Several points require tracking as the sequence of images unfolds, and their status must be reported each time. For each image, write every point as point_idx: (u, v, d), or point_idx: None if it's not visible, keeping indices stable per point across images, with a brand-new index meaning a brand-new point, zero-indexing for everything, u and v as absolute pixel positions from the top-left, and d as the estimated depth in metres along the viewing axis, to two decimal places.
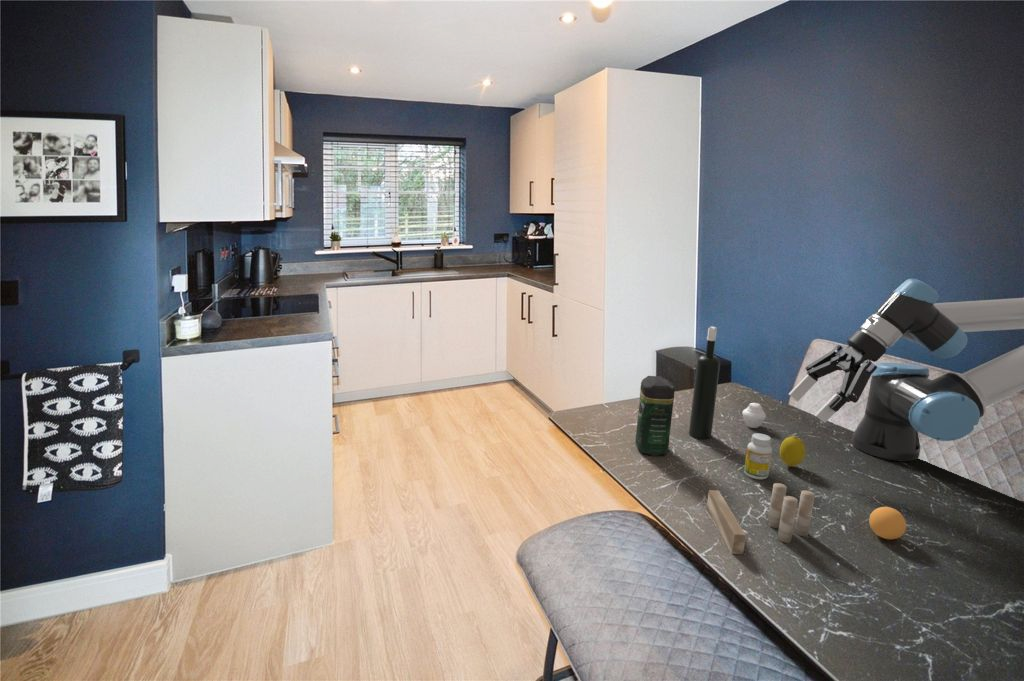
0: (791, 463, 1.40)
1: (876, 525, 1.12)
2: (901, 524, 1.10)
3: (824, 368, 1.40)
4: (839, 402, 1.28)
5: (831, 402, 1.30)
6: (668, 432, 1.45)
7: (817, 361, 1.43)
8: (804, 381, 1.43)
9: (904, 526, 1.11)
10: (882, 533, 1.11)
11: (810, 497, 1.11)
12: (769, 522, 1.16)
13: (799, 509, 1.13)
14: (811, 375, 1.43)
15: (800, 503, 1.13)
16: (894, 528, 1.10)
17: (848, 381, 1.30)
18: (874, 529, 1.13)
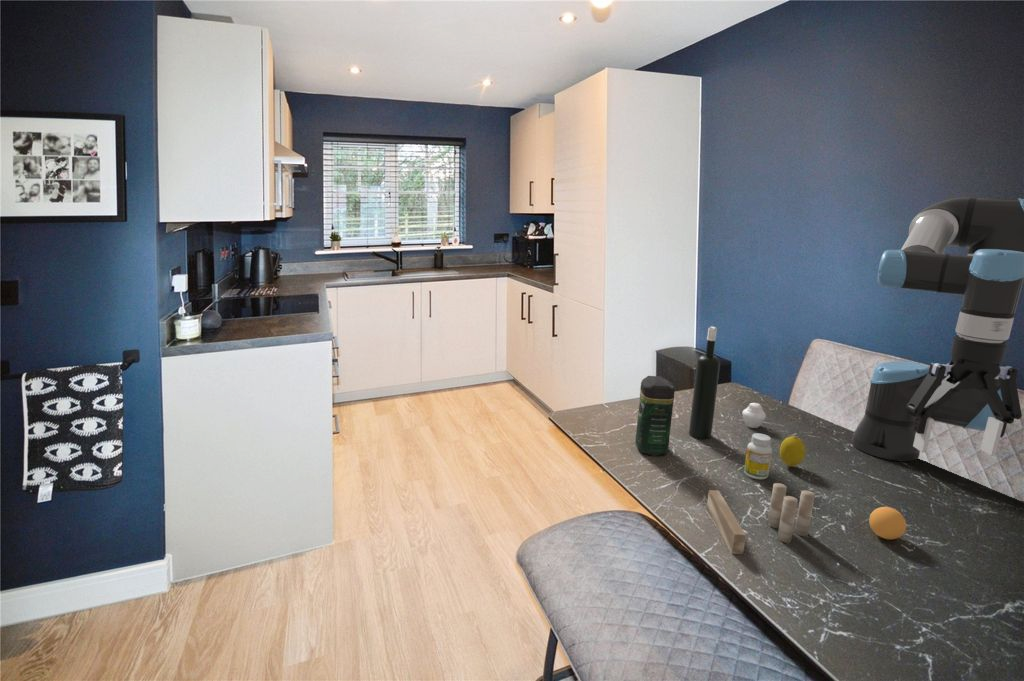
0: (791, 463, 1.40)
1: (876, 525, 1.12)
2: (901, 524, 1.10)
3: None
4: None
5: None
6: (668, 432, 1.45)
7: (927, 398, 1.06)
8: None
9: (904, 526, 1.11)
10: (882, 533, 1.11)
11: (810, 497, 1.11)
12: (769, 522, 1.16)
13: (799, 509, 1.13)
14: None
15: (800, 503, 1.13)
16: (894, 528, 1.10)
17: None
18: (874, 529, 1.13)
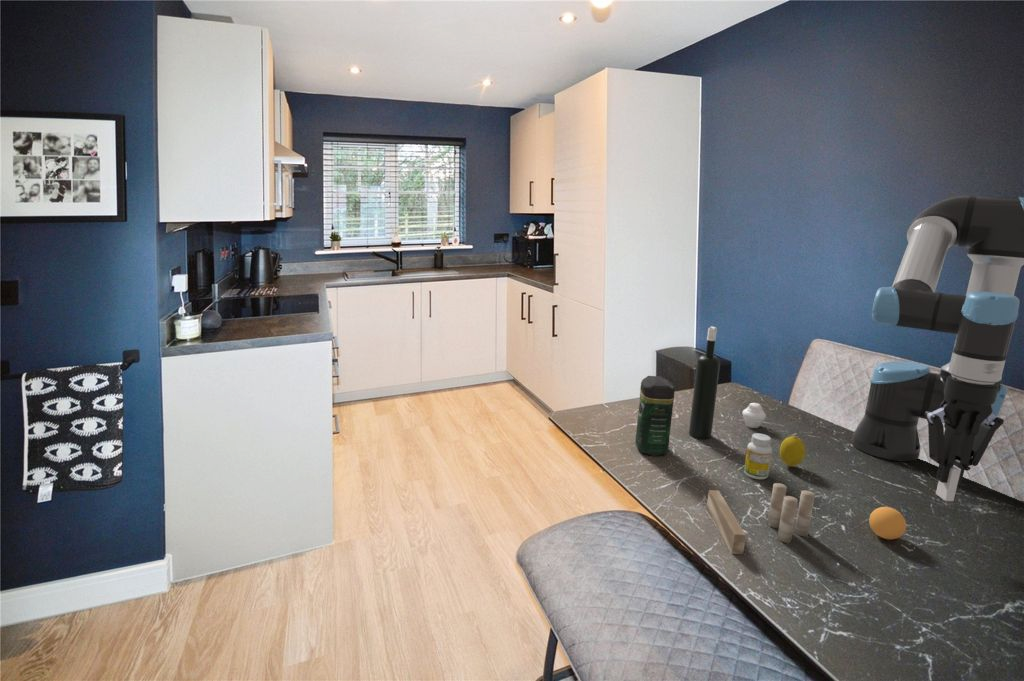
0: (791, 463, 1.40)
1: (876, 525, 1.12)
2: (901, 524, 1.10)
3: None
4: None
5: None
6: (668, 432, 1.45)
7: (941, 446, 1.07)
8: None
9: (904, 526, 1.11)
10: (882, 533, 1.11)
11: (810, 497, 1.11)
12: (769, 522, 1.16)
13: (799, 509, 1.13)
14: None
15: (800, 503, 1.13)
16: (894, 528, 1.10)
17: None
18: (874, 529, 1.13)
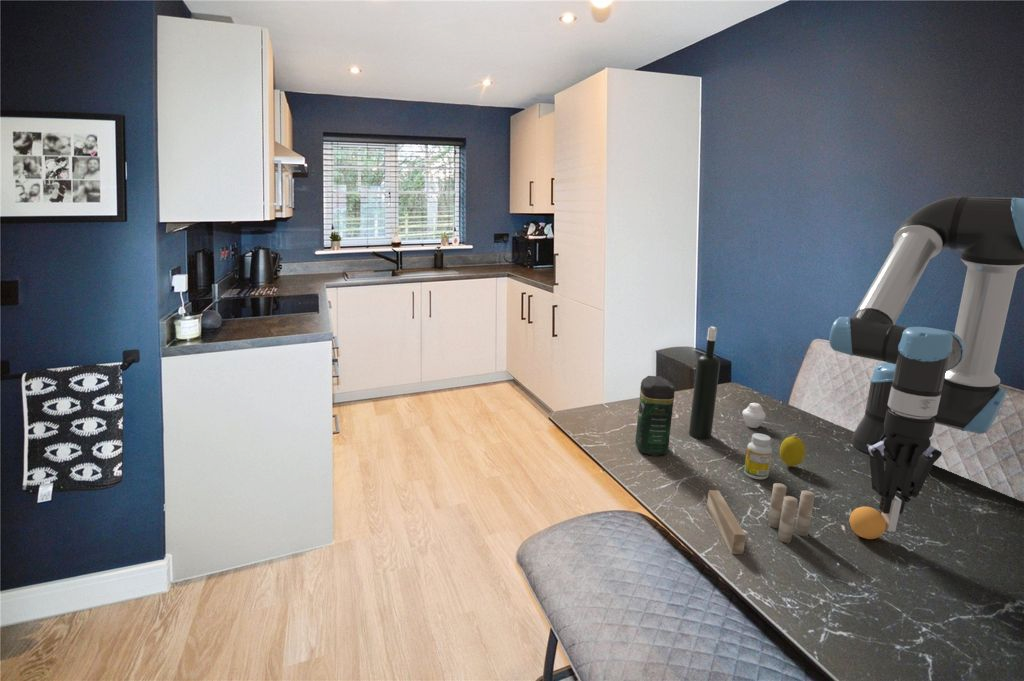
0: (791, 463, 1.40)
1: (859, 535, 1.13)
2: (874, 523, 1.10)
3: None
4: None
5: None
6: (668, 432, 1.45)
7: (882, 479, 1.09)
8: None
9: (878, 521, 1.10)
10: (869, 538, 1.12)
11: (810, 497, 1.11)
12: (769, 522, 1.16)
13: (799, 509, 1.13)
14: None
15: (800, 503, 1.13)
16: (872, 531, 1.10)
17: None
18: None
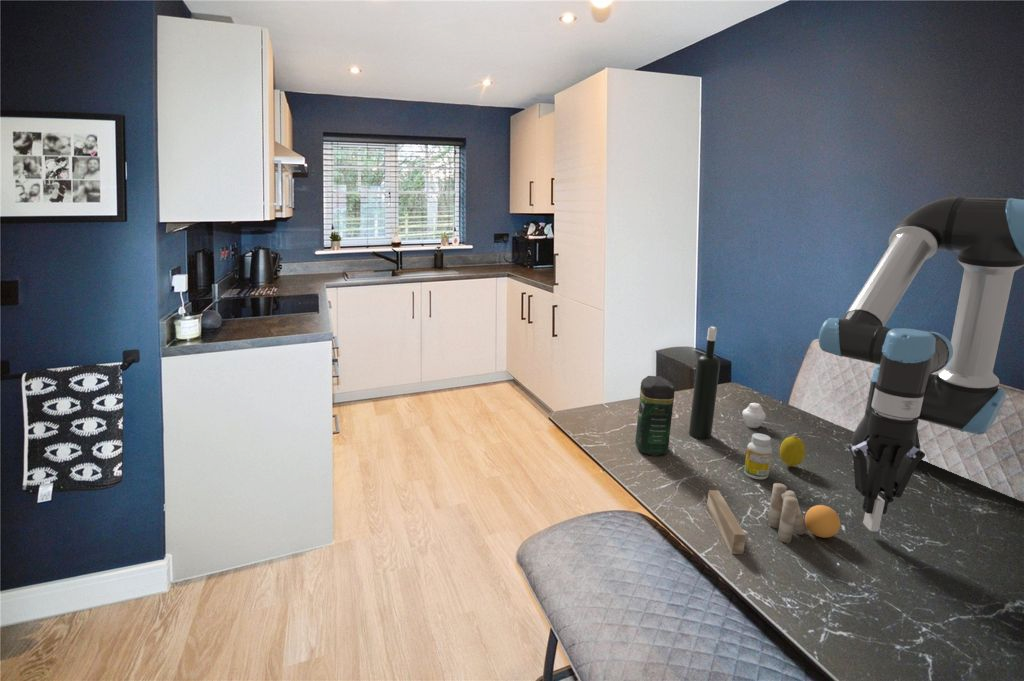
0: (791, 463, 1.40)
1: (838, 517, 1.12)
2: (827, 536, 1.11)
3: None
4: None
5: None
6: (668, 432, 1.45)
7: (865, 479, 1.10)
8: None
9: (821, 535, 1.11)
10: (835, 518, 1.11)
11: None
12: (769, 522, 1.16)
13: None
14: None
15: None
16: (833, 531, 1.10)
17: None
18: (834, 512, 1.12)
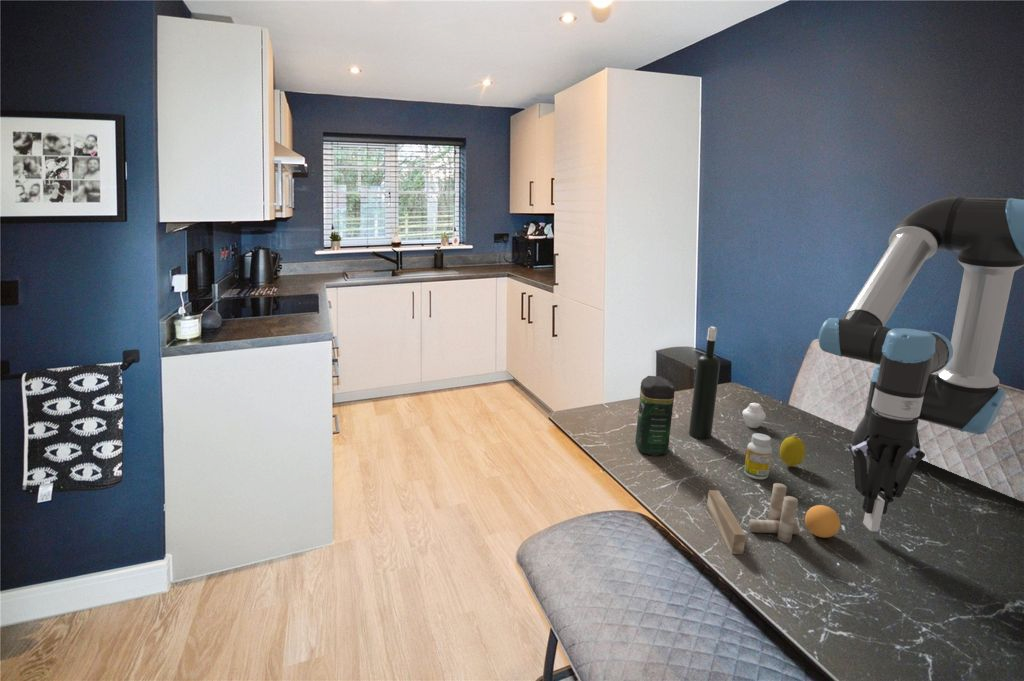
0: (791, 463, 1.40)
1: (838, 517, 1.12)
2: (826, 536, 1.11)
3: None
4: None
5: None
6: (668, 432, 1.45)
7: (865, 479, 1.10)
8: None
9: (821, 535, 1.11)
10: (835, 518, 1.11)
11: (754, 529, 1.13)
12: None
13: None
14: None
15: None
16: (833, 531, 1.10)
17: None
18: (834, 512, 1.12)
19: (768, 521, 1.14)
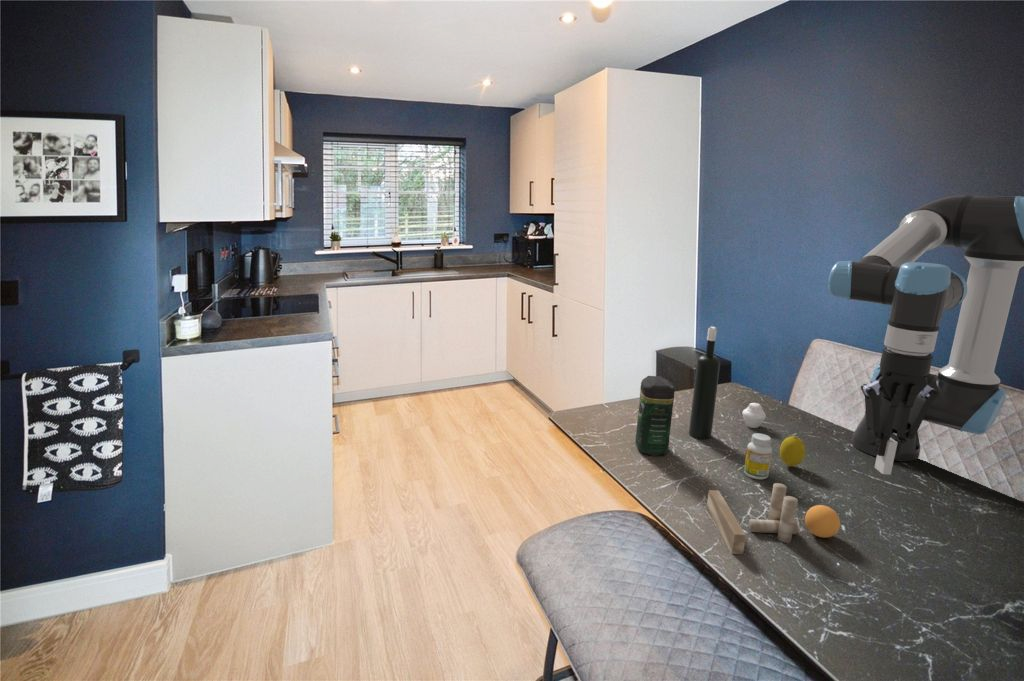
0: (791, 463, 1.40)
1: (838, 517, 1.12)
2: (826, 536, 1.11)
3: None
4: None
5: None
6: (668, 432, 1.45)
7: (877, 419, 1.07)
8: None
9: (821, 535, 1.11)
10: (835, 518, 1.11)
11: (754, 529, 1.13)
12: None
13: None
14: None
15: None
16: (833, 531, 1.10)
17: None
18: (834, 512, 1.12)
19: (768, 521, 1.14)
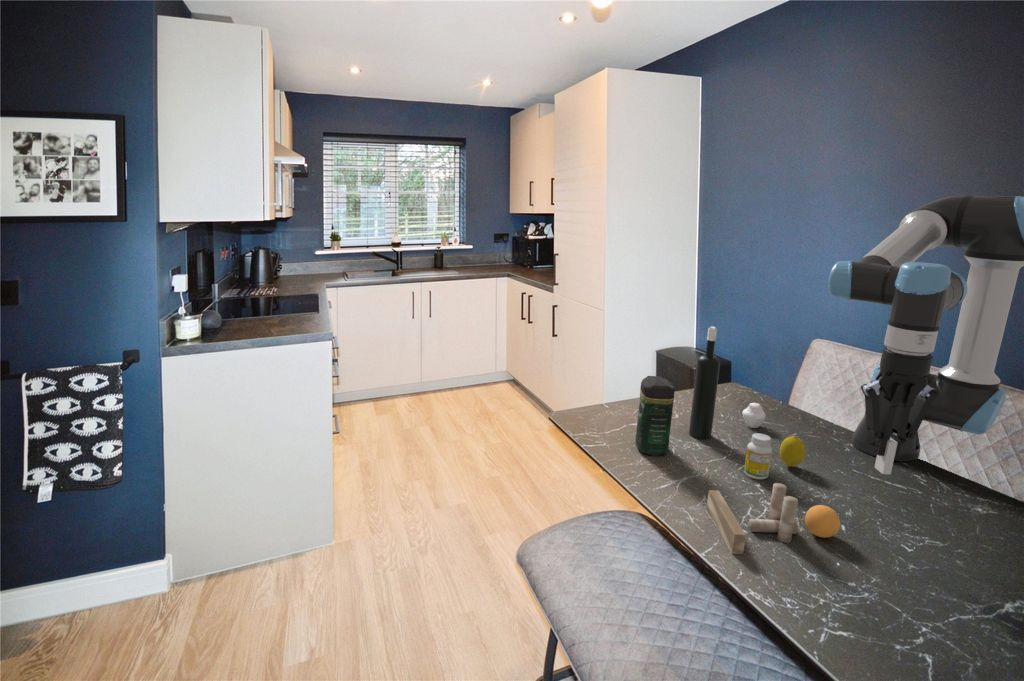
0: (791, 463, 1.40)
1: (838, 517, 1.12)
2: (826, 536, 1.11)
3: None
4: None
5: None
6: (668, 432, 1.45)
7: (877, 419, 1.07)
8: None
9: (821, 535, 1.11)
10: (835, 518, 1.11)
11: (754, 528, 1.13)
12: None
13: None
14: None
15: None
16: (833, 531, 1.10)
17: None
18: (834, 512, 1.12)
19: (767, 520, 1.14)
